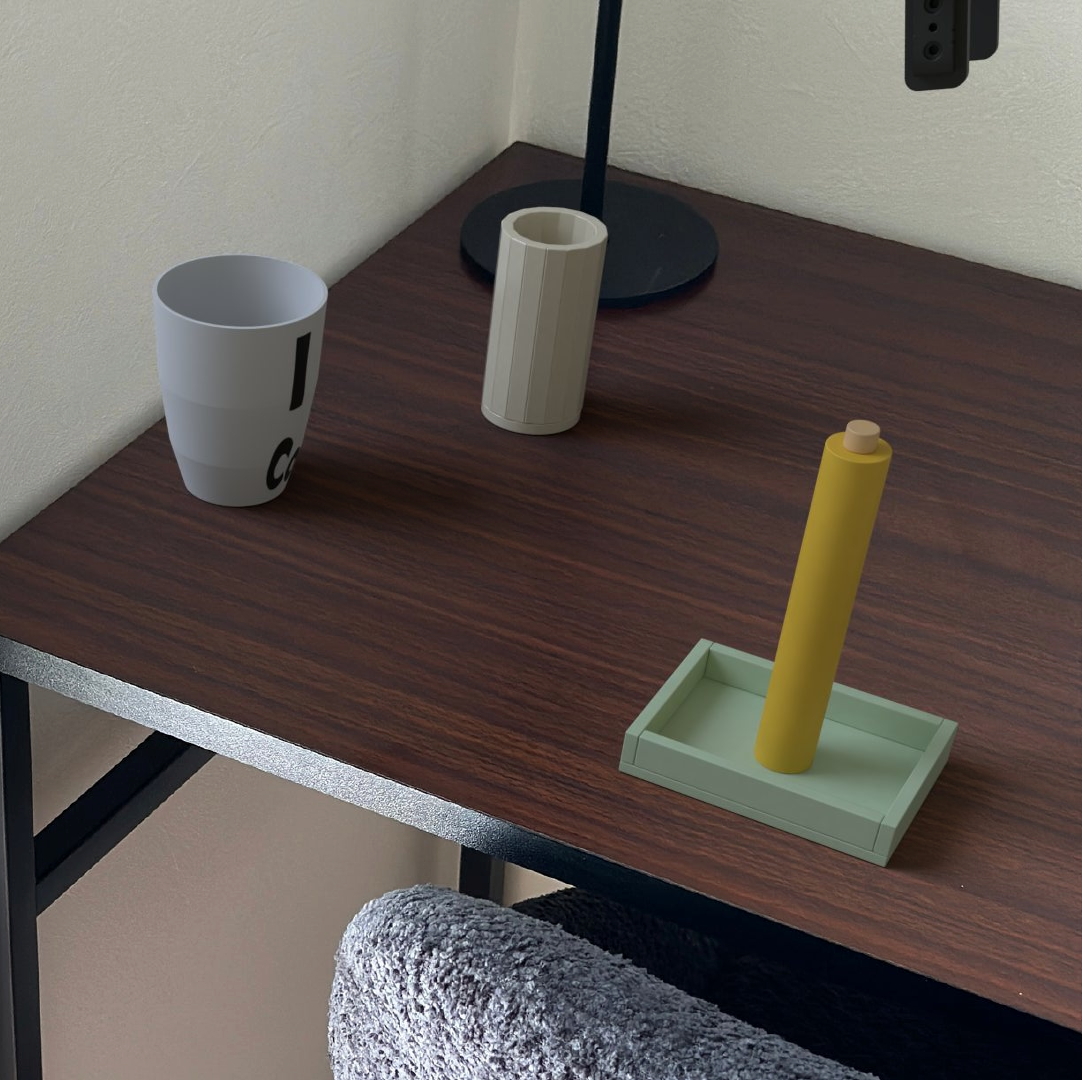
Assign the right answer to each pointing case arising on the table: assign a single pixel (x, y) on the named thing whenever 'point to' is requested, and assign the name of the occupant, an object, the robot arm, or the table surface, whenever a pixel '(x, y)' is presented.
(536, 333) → the pencil holder
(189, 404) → the cup
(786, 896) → the table surface
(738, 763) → the tray
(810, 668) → the pencil
